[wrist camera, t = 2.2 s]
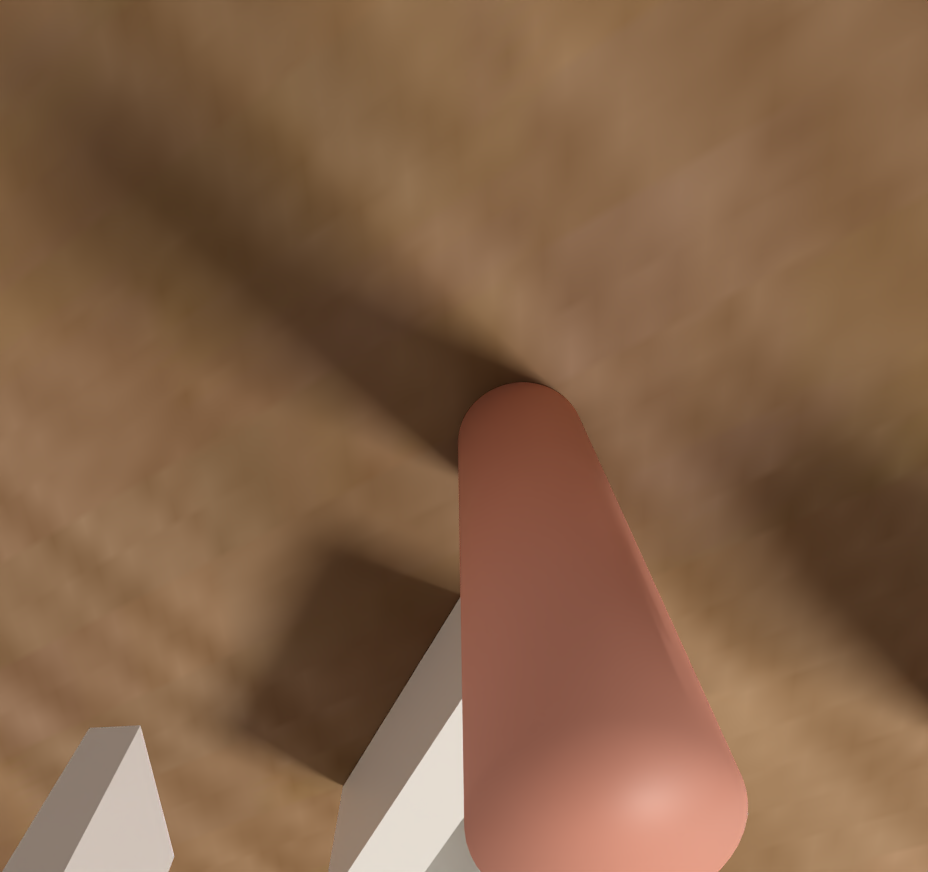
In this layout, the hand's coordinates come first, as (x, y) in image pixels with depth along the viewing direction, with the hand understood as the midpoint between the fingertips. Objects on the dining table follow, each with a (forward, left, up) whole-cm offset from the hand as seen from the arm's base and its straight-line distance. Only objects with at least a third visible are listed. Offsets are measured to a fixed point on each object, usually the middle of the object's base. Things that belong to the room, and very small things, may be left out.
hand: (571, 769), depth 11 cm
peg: (0, 0, -13) cm, 13 cm away
